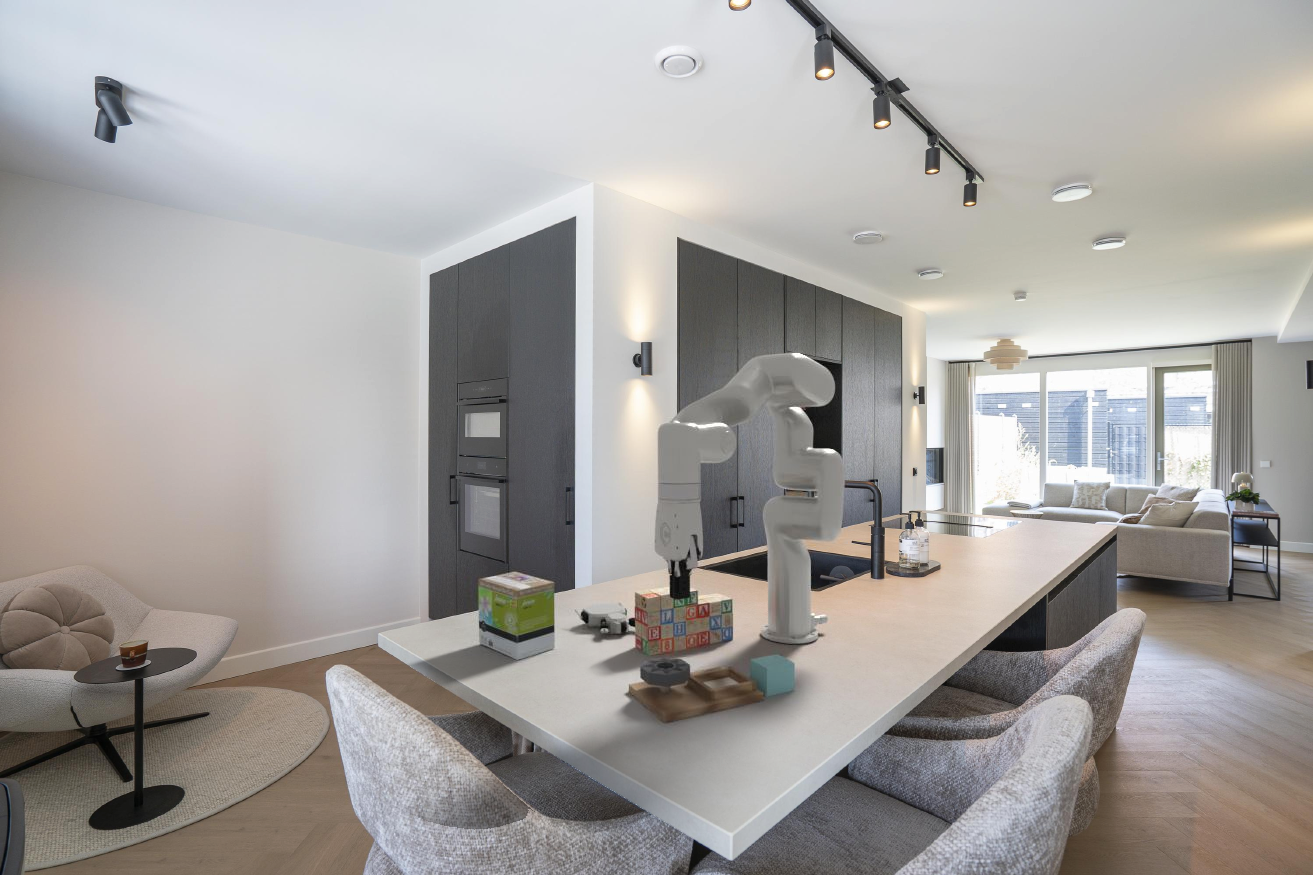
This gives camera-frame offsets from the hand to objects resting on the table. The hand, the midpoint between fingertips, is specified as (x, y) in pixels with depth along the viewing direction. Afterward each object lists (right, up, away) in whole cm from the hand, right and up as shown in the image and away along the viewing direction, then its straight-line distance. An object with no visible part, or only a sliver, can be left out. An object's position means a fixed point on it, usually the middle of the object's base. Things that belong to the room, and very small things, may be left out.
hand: (679, 597), depth 111 cm
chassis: (+3, -17, 0) cm, 17 cm away
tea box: (-34, -18, +26) cm, 46 cm away
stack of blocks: (+2, -17, +27) cm, 33 cm away
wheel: (-3, -14, -1) cm, 14 cm away
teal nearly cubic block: (+17, -17, +3) cm, 24 cm away
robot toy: (-15, -18, +39) cm, 45 cm away
